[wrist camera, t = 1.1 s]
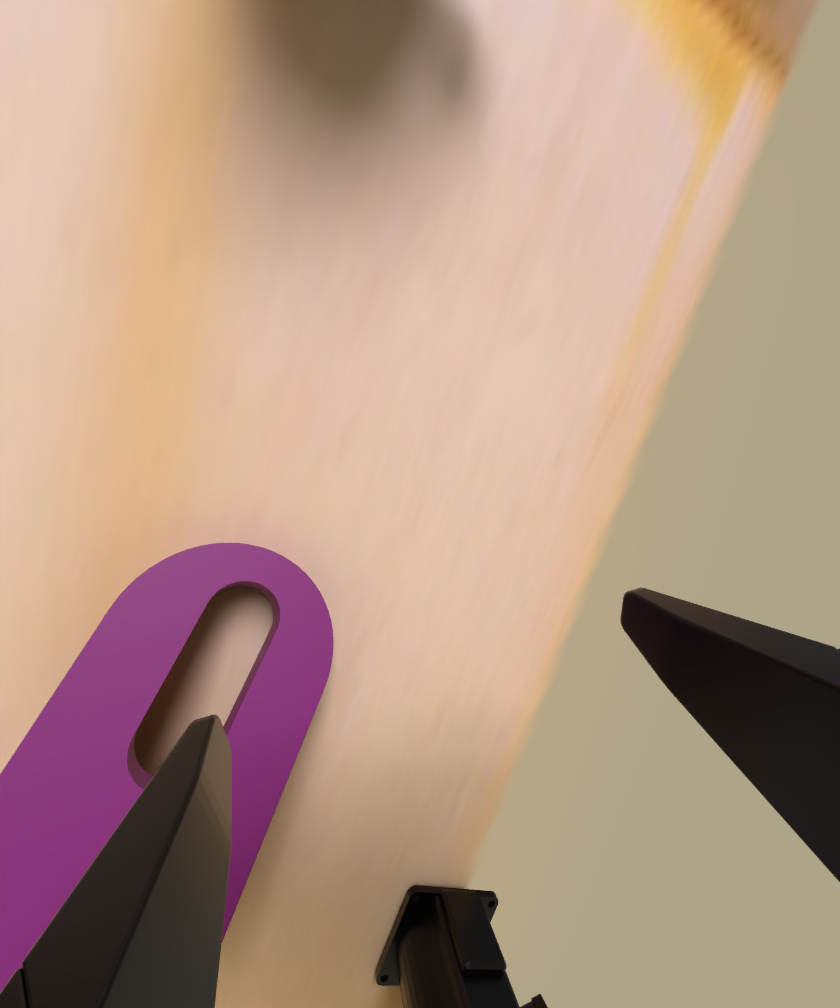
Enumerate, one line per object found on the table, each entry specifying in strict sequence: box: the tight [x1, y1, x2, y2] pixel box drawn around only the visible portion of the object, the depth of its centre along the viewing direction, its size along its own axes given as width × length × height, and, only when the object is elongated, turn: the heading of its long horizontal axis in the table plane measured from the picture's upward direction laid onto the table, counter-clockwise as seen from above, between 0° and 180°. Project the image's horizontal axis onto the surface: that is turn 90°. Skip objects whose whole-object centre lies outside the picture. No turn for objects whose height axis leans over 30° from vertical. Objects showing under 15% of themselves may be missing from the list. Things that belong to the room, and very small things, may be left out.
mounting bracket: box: [0, 543, 333, 992], centre depth 20 cm, size 10×8×18 cm
